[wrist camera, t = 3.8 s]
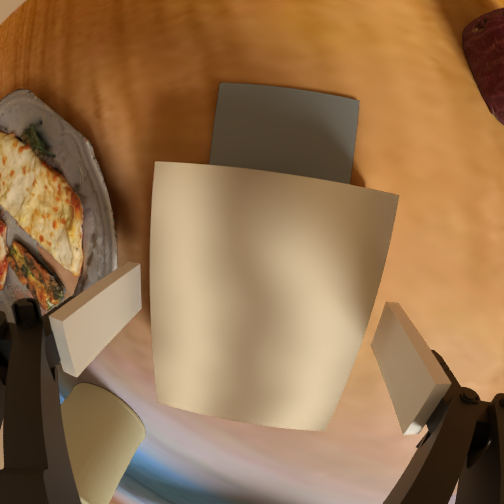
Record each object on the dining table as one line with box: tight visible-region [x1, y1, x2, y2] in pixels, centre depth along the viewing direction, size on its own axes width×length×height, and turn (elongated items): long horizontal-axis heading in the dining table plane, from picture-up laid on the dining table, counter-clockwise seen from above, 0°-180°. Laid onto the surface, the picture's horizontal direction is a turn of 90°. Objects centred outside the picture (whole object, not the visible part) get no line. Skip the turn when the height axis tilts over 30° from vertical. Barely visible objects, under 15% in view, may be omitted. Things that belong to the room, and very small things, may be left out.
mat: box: [209, 83, 359, 184], centre depth 18 cm, size 8×24×1 cm, turn 173°
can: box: [60, 383, 146, 504], centre depth 18 cm, size 9×9×12 cm
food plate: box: [0, 89, 118, 364], centre depth 18 cm, size 25×23×4 cm
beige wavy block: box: [150, 161, 399, 431], centre depth 15 cm, size 10×14×4 cm
